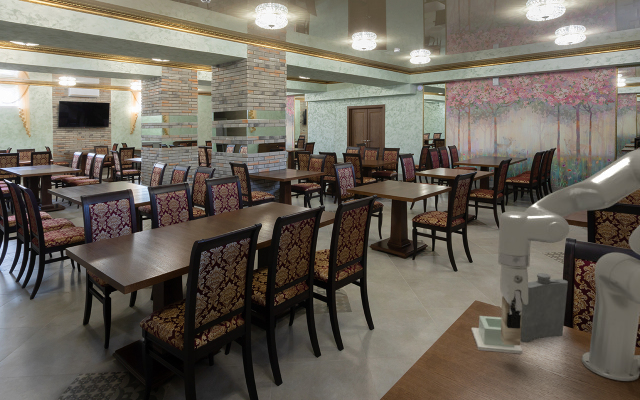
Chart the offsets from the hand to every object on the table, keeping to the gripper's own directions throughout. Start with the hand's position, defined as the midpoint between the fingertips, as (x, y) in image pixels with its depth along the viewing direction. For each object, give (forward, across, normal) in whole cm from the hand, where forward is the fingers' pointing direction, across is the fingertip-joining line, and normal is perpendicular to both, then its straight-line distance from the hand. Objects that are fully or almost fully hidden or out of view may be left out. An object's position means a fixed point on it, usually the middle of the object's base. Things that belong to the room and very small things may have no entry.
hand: (511, 322), depth 109 cm
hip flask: (+13, +18, -13) cm, 25 cm away
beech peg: (+5, 0, 0) cm, 5 cm away
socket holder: (+12, +12, +1) cm, 17 cm away
